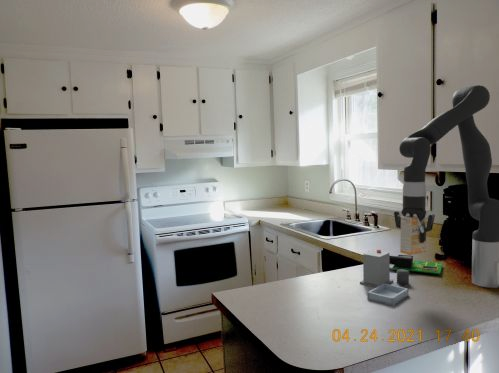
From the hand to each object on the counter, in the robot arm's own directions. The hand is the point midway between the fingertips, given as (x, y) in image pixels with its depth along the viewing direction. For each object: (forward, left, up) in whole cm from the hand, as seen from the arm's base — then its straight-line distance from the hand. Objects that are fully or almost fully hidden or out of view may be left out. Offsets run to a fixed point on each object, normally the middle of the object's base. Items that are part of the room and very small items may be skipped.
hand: (413, 241), depth 142 cm
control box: (+17, -4, -20) cm, 26 cm away
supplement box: (0, 0, -4) cm, 4 cm away
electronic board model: (+17, -31, -20) cm, 40 cm away
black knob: (+9, -10, -20) cm, 24 cm away
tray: (+6, +7, -20) cm, 22 cm away
